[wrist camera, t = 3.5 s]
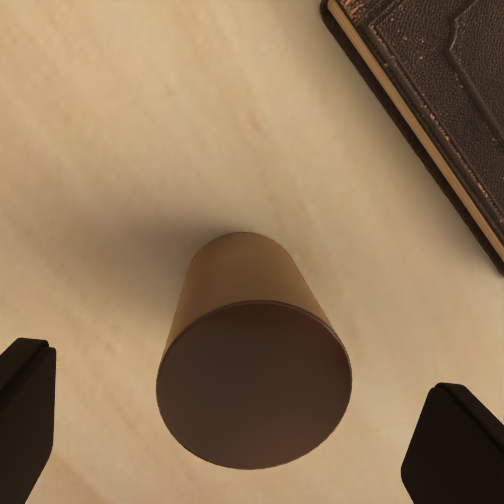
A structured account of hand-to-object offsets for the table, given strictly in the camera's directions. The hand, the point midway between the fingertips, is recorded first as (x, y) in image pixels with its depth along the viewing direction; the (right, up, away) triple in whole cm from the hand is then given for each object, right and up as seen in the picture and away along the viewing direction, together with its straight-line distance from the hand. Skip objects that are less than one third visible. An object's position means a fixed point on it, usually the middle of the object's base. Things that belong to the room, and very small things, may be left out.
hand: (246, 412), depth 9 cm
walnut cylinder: (0, +2, +9) cm, 9 cm away
